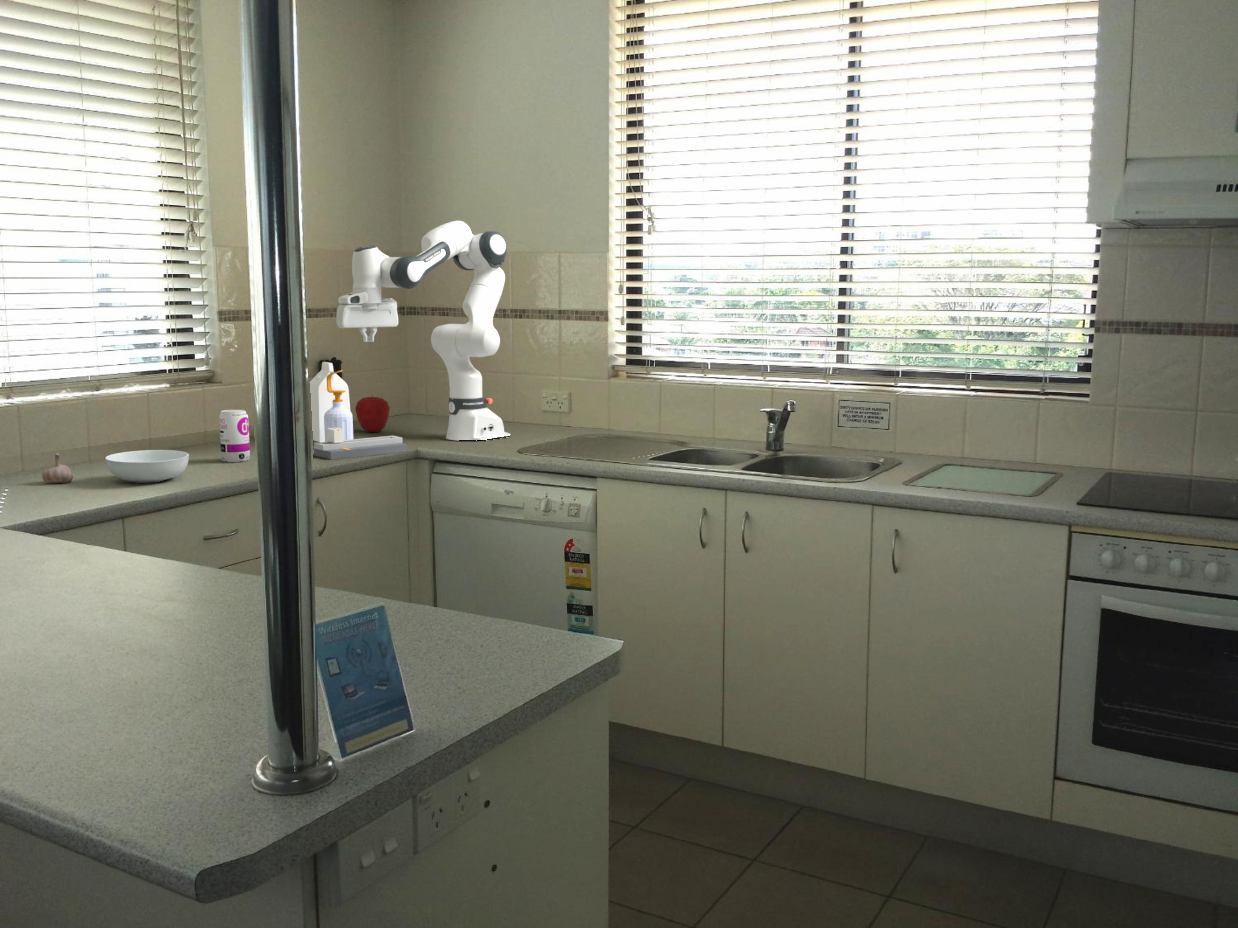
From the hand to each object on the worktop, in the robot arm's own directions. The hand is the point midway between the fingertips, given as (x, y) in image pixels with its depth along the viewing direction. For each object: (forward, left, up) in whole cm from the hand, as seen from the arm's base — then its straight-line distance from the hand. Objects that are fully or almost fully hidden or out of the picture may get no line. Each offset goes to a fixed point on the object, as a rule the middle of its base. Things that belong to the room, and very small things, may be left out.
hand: (368, 342), depth 360 cm
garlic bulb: (+95, +5, -34) cm, 101 cm away
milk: (+1, -28, -34) cm, 44 cm away
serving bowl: (+75, +16, -34) cm, 84 cm away
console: (+8, +7, -34) cm, 36 cm away
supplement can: (+44, -2, -34) cm, 56 cm away
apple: (-19, -35, -34) cm, 53 cm away
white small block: (+16, +7, -31) cm, 36 cm away
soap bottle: (+5, -13, -34) cm, 37 cm away
